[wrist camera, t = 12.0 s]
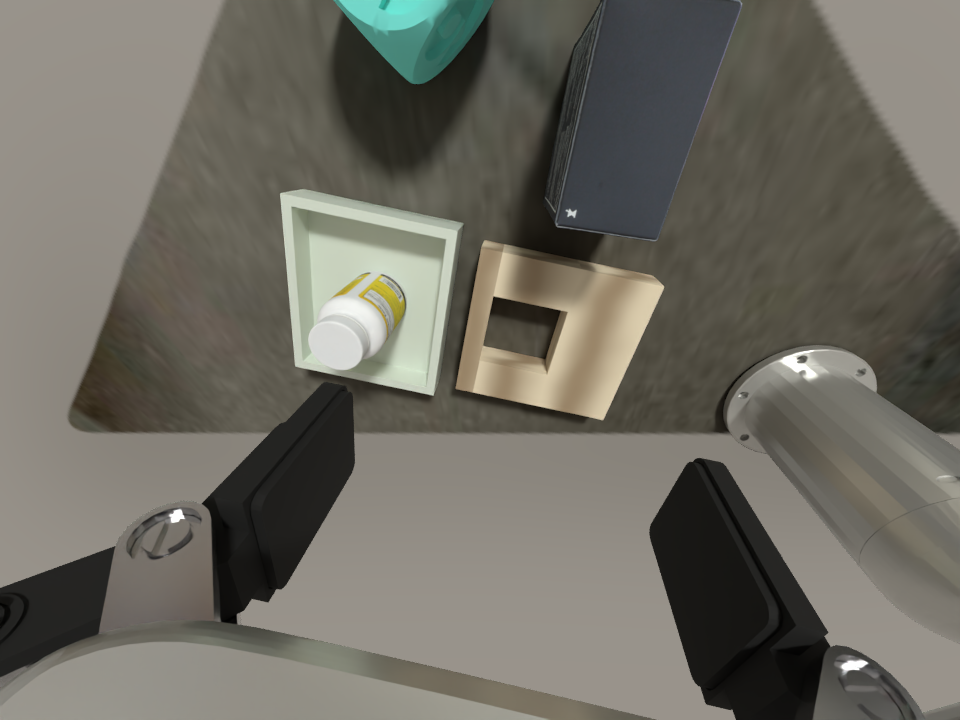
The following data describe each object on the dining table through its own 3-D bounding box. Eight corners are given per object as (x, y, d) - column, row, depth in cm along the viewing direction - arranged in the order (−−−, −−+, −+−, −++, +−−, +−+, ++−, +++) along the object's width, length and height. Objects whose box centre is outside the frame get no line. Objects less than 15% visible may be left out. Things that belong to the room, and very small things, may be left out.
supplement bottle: (352, 318, 36) (300, 370, 27) (351, 264, 33) (293, 303, 25) (406, 329, 36) (371, 384, 27) (410, 276, 33) (372, 319, 25)
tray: (463, 223, 31) (457, 230, 28) (440, 376, 39) (433, 395, 36) (303, 189, 31) (280, 193, 28) (312, 349, 39) (295, 366, 36)
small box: (619, 218, 30) (661, 247, 21) (540, 206, 30) (548, 230, 21) (669, 53, 25) (755, -4, 16) (573, 40, 25) (602, -24, 16)
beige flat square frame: (652, 275, 32) (664, 286, 29) (597, 402, 39) (603, 420, 36) (484, 239, 32) (481, 247, 29) (459, 372, 39) (455, 388, 36)
